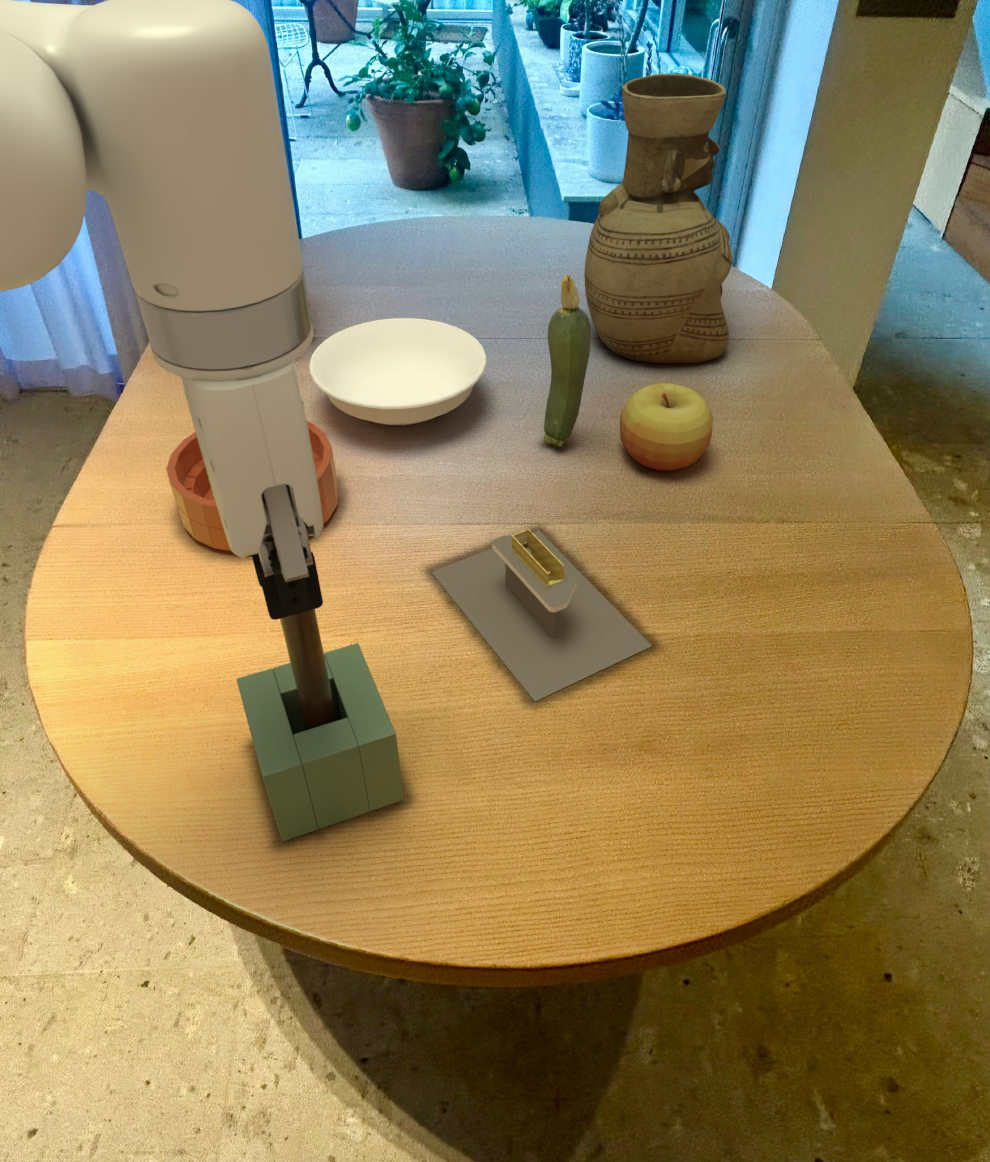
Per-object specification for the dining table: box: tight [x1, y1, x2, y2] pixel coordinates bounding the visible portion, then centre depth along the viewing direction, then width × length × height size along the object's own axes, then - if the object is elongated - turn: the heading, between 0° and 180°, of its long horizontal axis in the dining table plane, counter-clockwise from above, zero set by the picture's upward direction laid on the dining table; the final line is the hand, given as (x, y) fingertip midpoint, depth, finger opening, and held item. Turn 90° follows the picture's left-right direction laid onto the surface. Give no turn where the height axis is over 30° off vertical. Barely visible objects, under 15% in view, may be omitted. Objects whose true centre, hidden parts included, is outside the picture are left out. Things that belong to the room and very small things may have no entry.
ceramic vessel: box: [583, 73, 733, 364], centre depth 106 cm, size 19×21×30 cm
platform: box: [431, 528, 653, 702], centre depth 77 cm, size 12×18×7 cm, turn 31°
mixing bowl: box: [165, 420, 339, 552], centre depth 88 cm, size 16×16×6 cm
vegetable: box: [543, 274, 592, 448], centre depth 91 cm, size 4×4×20 cm
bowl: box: [308, 317, 488, 426], centre depth 101 cm, size 20×20×6 cm
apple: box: [619, 382, 714, 471], centre depth 94 cm, size 10×10×8 cm
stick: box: [267, 541, 337, 730], centre depth 57 cm, size 2×2×20 cm
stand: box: [236, 642, 404, 842], centre depth 64 cm, size 9×9×8 cm
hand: (290, 593), depth 54 cm, fingers closed on stick, 2 cm apart
